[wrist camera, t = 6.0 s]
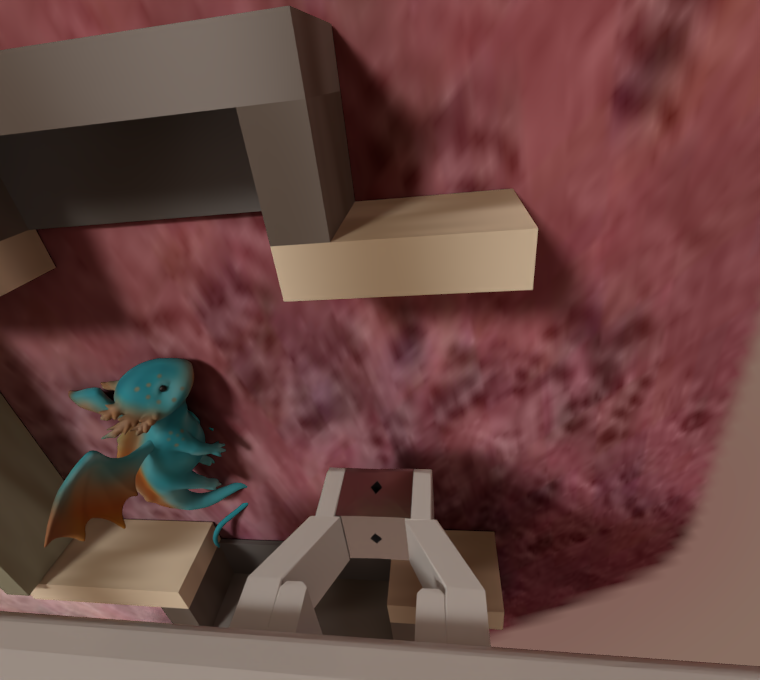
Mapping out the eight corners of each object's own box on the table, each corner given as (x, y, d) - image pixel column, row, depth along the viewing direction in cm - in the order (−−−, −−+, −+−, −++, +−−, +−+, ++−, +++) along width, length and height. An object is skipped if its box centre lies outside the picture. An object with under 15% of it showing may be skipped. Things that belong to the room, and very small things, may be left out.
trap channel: (522, -5, 8) (571, -45, 5) (490, 596, 20) (500, 690, 17) (-241, 106, 11) (-486, 120, 8) (116, 575, 22) (67, 652, 19)
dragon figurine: (361, 487, 15) (148, 413, 10) (233, 622, 16) (-27, 620, 11) (305, 381, 20) (141, 294, 15) (208, 490, 21) (20, 444, 16)
